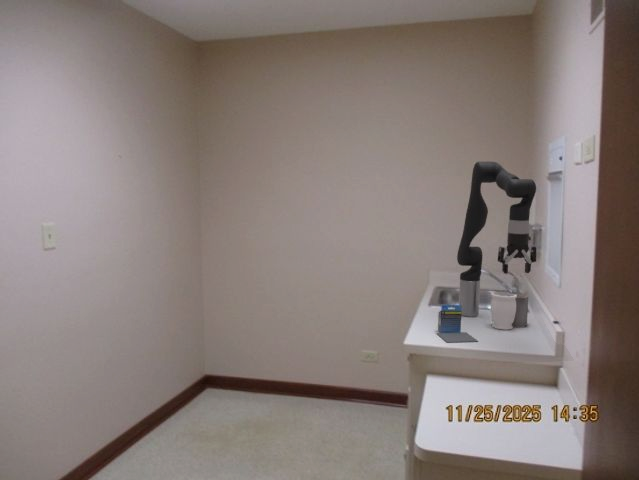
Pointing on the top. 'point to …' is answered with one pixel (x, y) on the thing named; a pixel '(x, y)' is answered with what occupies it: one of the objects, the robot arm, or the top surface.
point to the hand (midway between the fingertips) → (516, 273)
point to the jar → (503, 309)
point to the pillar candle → (521, 310)
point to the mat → (457, 337)
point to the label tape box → (449, 319)
